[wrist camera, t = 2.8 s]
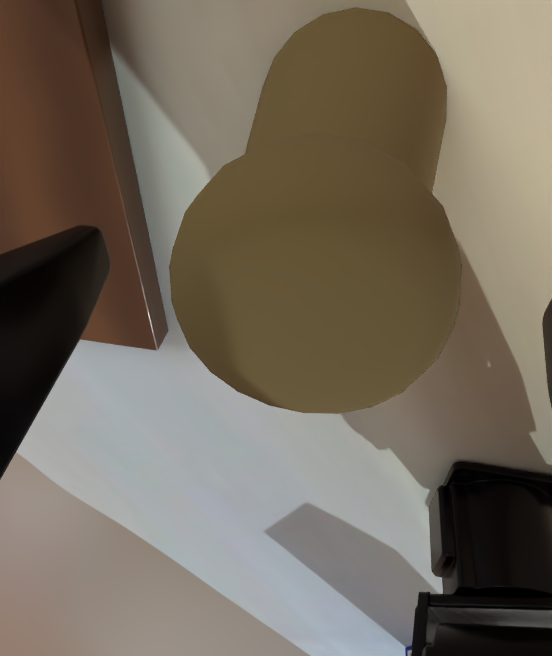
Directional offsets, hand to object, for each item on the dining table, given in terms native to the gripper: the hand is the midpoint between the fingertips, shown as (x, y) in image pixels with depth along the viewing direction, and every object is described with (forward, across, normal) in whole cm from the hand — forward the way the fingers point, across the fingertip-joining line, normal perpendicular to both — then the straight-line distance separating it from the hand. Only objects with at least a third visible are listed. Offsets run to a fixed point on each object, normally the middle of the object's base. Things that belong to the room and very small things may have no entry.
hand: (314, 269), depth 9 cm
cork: (+9, 0, 0) cm, 9 cm away
